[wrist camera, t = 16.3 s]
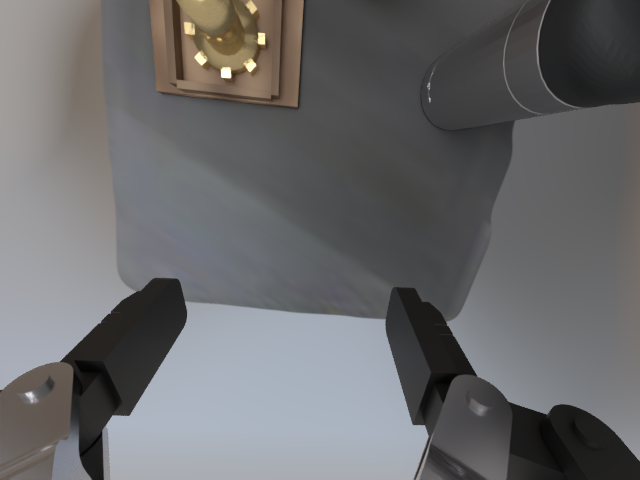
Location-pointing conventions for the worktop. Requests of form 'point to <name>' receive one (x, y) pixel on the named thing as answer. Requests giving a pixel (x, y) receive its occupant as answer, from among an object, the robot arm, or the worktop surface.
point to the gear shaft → (224, 35)
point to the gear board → (194, 81)
